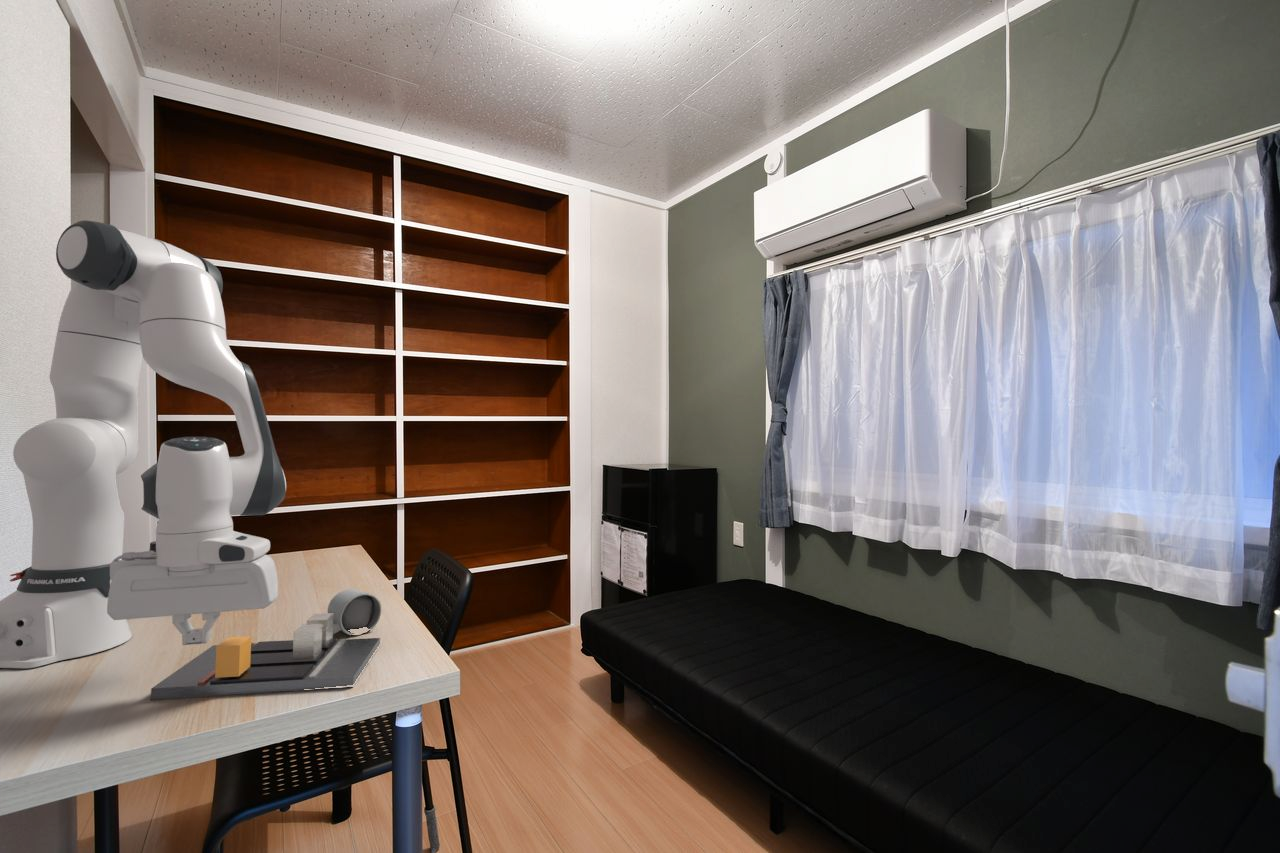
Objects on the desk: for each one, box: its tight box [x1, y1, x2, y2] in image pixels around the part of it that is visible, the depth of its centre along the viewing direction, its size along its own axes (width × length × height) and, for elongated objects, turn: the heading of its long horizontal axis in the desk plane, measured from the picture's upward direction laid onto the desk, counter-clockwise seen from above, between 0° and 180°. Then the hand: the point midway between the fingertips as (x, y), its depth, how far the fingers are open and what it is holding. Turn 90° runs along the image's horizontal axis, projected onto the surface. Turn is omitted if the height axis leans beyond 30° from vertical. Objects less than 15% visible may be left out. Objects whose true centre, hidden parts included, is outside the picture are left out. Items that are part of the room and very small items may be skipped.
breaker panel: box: [150, 612, 381, 701], centre depth 88 cm, size 26×16×6 cm, turn 102°
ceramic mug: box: [327, 588, 382, 636], centre depth 105 cm, size 11×8×8 cm
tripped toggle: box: [215, 636, 252, 678], centre depth 82 cm, size 3×4×4 cm
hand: (197, 642), depth 81 cm, fingers closed
